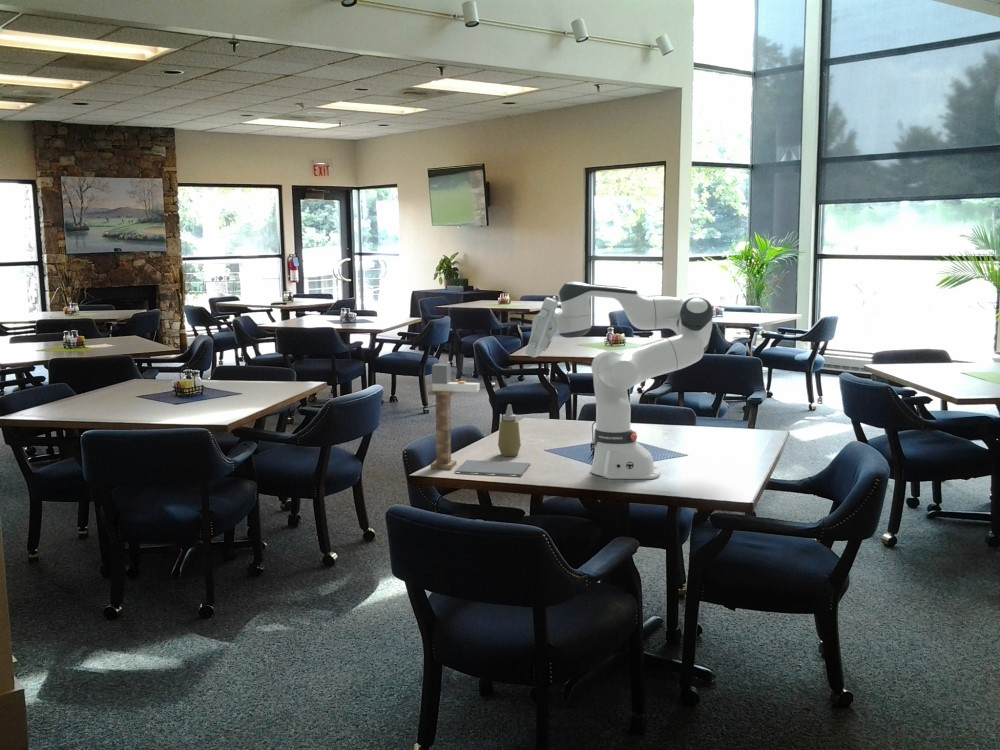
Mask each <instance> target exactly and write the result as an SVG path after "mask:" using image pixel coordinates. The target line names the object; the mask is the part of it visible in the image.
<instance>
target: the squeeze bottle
mask: <svg viewBox="0 0 1000 750" xmlns="http://www.w3.org/2000/svg"><path fill="white" fill-rule="evenodd" d="M519 423H520V422H519V421H518V420H517V415H516V414H515V413H513V407H512V404H507V406H506V411H505V414H502V420H501V421H500V422H499V429H498V430H499V432H498V439H497V440H498V441H497V445H498V449H499V451H500V455H501V456H504V457H515V456H518V454H519V452H520V449H521V445H522V444H521V443H522V442H521V436H520V424H519Z"/></svg>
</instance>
